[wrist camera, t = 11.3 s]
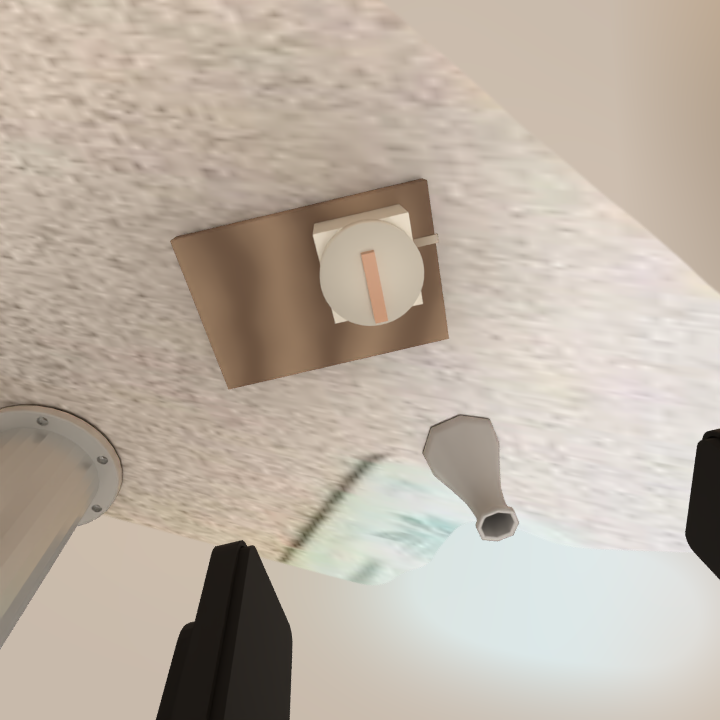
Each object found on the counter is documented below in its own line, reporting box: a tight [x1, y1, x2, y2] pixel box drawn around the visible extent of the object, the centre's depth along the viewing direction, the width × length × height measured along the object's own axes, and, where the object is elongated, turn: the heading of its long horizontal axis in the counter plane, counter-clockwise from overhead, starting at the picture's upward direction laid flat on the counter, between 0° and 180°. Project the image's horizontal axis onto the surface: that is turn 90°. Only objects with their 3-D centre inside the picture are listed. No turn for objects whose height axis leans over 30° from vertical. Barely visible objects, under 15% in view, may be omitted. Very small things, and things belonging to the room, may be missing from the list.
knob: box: [313, 204, 424, 326], centre depth 30 cm, size 6×6×6 cm
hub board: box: [170, 179, 449, 389], centre depth 33 cm, size 18×12×5 cm, turn 102°
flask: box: [423, 415, 519, 541], centre depth 39 cm, size 7×7×10 cm
